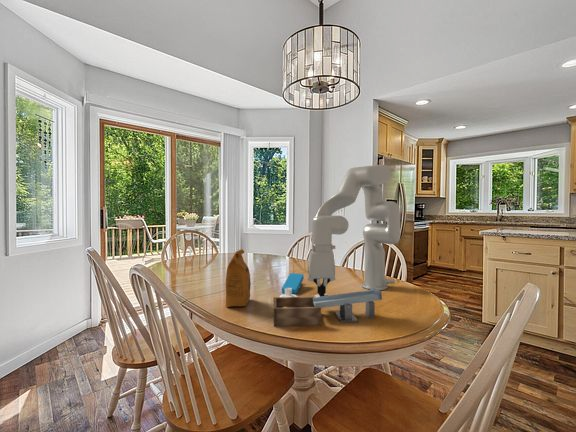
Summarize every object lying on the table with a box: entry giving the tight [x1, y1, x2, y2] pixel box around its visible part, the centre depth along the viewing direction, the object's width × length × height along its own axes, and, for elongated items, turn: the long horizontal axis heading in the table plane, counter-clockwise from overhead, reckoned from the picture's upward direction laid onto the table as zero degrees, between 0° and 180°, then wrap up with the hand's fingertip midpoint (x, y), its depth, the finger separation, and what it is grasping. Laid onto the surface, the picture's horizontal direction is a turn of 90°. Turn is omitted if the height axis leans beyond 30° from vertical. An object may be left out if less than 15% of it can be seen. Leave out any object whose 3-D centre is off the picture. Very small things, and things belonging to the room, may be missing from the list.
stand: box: [334, 301, 376, 323], centre depth 105 cm, size 13×10×6 cm
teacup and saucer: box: [279, 288, 298, 297], centre depth 128 cm, size 9×8×4 cm
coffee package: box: [225, 248, 251, 308], centre depth 119 cm, size 10×12×22 cm
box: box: [272, 296, 322, 327], centre depth 103 cm, size 16×12×6 cm
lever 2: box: [313, 287, 383, 309], centre depth 108 cm, size 24×12×3 cm, turn 93°
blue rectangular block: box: [281, 272, 304, 295], centre depth 141 cm, size 7×7×18 cm
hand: (321, 295), depth 112 cm, fingers closed
